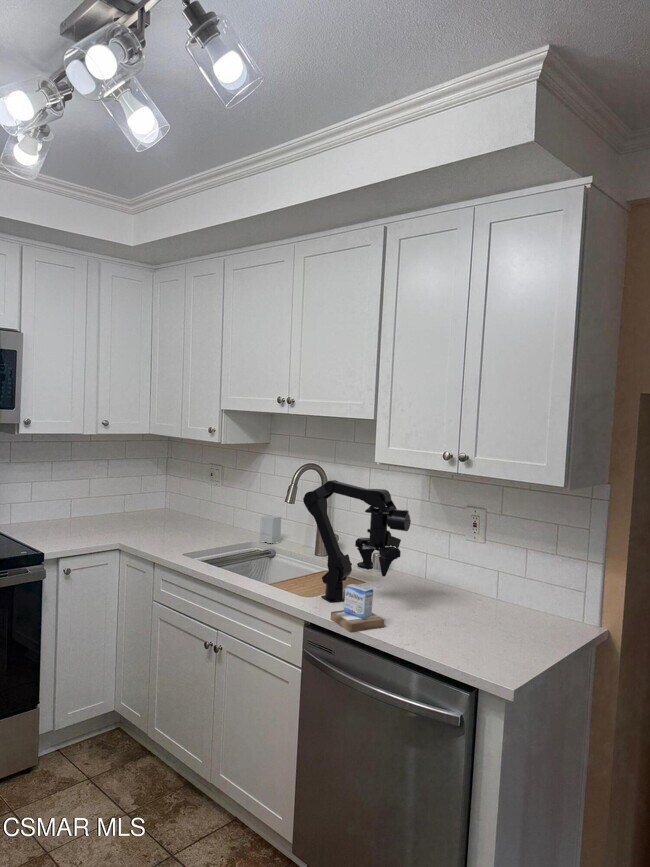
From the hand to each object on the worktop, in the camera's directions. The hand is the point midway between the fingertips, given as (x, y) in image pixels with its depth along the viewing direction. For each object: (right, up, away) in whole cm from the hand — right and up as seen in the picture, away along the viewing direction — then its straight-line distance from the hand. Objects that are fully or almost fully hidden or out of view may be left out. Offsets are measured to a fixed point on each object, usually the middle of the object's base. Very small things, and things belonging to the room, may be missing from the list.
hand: (375, 572), depth 214 cm
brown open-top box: (-7, -12, -16) cm, 21 cm away
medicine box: (-7, -10, -16) cm, 20 cm away
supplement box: (-44, -6, +93) cm, 103 cm away
